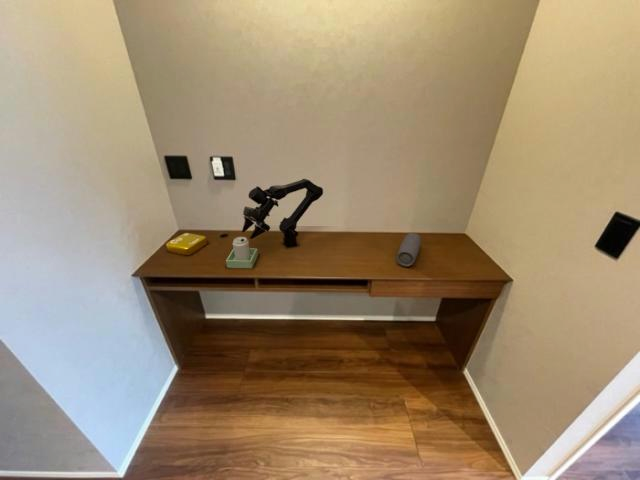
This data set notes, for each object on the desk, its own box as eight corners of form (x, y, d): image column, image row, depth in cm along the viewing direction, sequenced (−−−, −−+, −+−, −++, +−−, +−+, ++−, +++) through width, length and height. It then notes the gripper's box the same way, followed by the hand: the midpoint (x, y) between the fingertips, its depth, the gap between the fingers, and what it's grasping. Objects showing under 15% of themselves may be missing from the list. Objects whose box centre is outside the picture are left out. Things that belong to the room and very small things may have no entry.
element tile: (188, 256, 136) (186, 248, 133) (166, 251, 140) (163, 243, 138) (208, 243, 148) (206, 235, 146) (187, 238, 152) (185, 231, 150)
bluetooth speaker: (402, 245, 149) (405, 230, 144) (419, 249, 145) (423, 233, 140) (393, 265, 130) (397, 248, 126) (413, 270, 127) (417, 253, 122)
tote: (257, 255, 138) (257, 248, 136) (252, 268, 127) (251, 261, 125) (234, 254, 138) (233, 248, 136) (227, 267, 127) (225, 260, 125)
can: (251, 263, 130) (248, 241, 124) (235, 265, 128) (232, 243, 122) (250, 255, 136) (247, 234, 131) (235, 257, 134) (232, 236, 129)
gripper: (244, 195, 130) (226, 221, 129) (261, 205, 117) (241, 234, 116) (260, 206, 138) (243, 231, 137) (278, 217, 125) (259, 245, 124)
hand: (246, 235), depth 128 cm, fingers open, 9 cm apart
